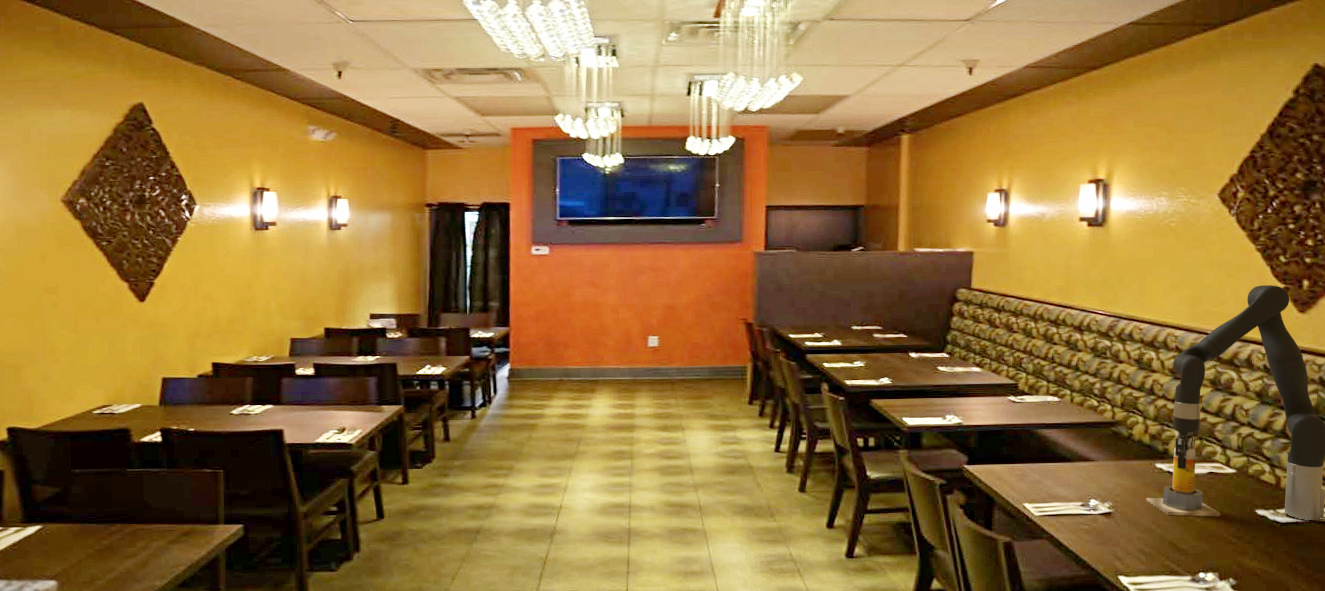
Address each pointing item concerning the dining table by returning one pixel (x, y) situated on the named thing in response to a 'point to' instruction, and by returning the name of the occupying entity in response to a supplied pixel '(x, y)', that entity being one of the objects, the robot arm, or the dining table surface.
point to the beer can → (1184, 473)
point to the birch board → (1172, 511)
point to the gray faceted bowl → (1182, 499)
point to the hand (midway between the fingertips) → (1184, 466)
